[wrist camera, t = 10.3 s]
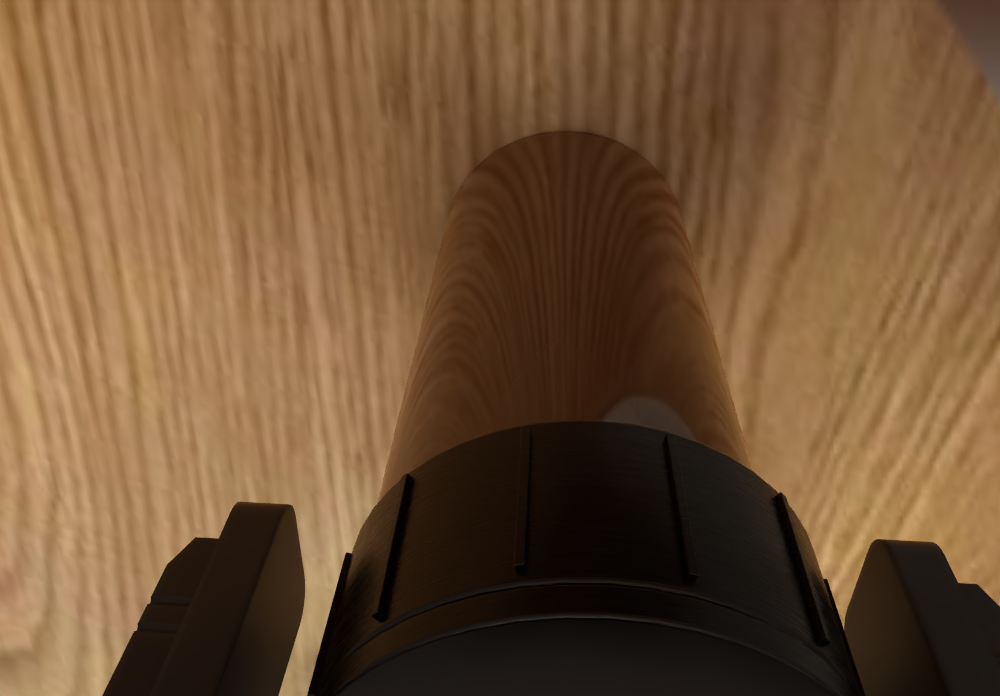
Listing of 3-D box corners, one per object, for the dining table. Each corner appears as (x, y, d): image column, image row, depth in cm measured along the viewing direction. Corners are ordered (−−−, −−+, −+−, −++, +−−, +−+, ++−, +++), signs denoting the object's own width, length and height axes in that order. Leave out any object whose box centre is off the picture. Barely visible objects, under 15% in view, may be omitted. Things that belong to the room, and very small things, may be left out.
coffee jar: (686, 120, 20) (860, 606, 8) (682, 339, 23) (804, 907, 11) (429, 140, 20) (264, 619, 9) (460, 350, 23) (367, 902, 12)
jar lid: (365, 724, 14) (324, 923, 12) (330, 405, 10) (262, 595, 8) (768, 748, 14) (813, 958, 11) (870, 431, 10) (967, 637, 8)
